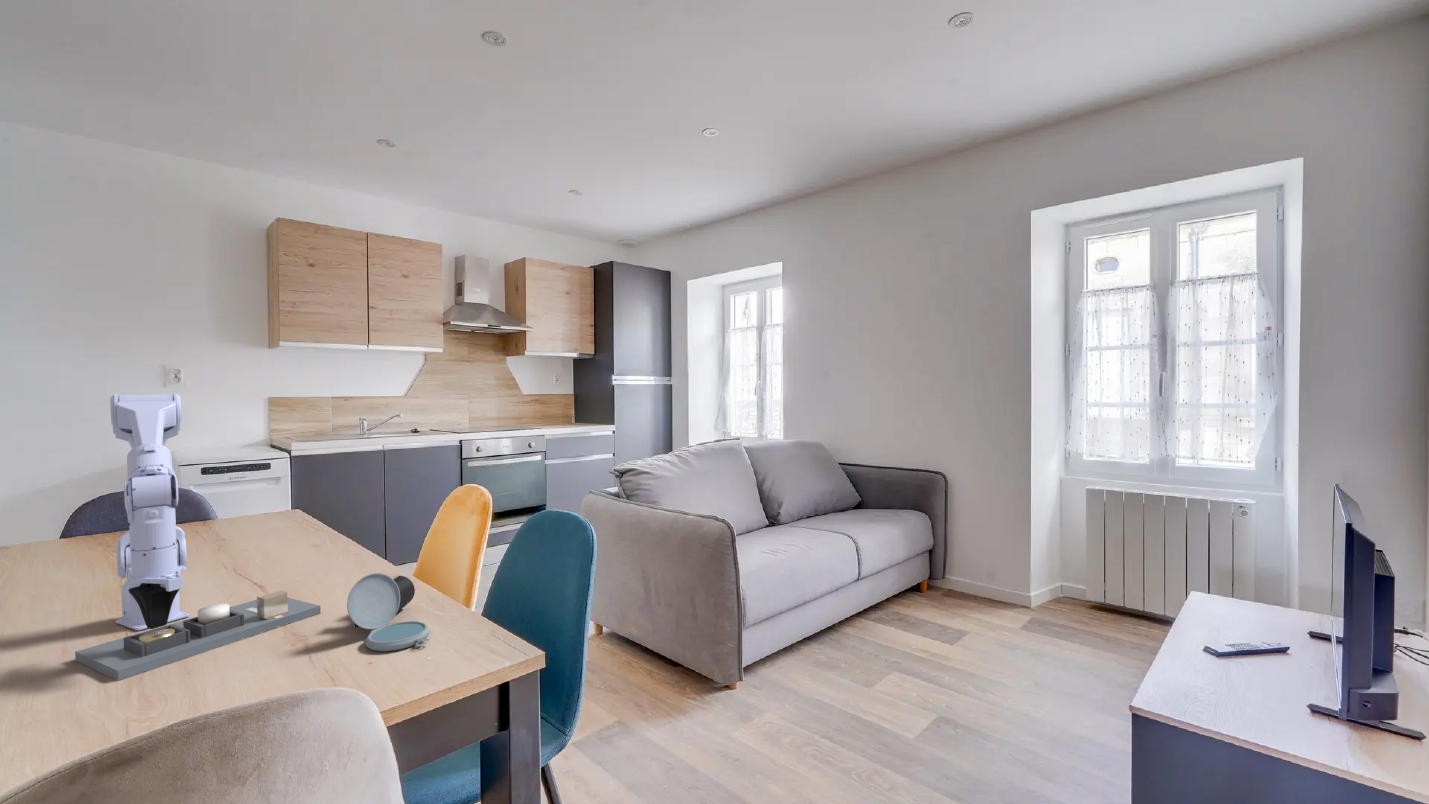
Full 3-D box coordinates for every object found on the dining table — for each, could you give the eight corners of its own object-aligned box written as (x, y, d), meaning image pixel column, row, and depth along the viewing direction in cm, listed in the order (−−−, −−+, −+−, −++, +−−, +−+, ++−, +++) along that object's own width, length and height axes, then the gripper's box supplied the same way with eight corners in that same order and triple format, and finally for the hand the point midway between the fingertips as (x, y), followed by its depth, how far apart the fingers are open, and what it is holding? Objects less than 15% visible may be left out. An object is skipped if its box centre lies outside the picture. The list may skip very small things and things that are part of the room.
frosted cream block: (257, 616, 113) (256, 596, 113) (280, 609, 116) (280, 590, 116) (264, 618, 112) (263, 598, 112) (287, 611, 115) (287, 591, 115)
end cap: (389, 628, 111) (388, 591, 111) (351, 628, 111) (350, 592, 111) (415, 608, 121) (415, 575, 121) (380, 608, 121) (379, 575, 121)
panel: (75, 660, 99) (74, 639, 99) (275, 601, 126) (274, 584, 126) (118, 680, 92) (117, 657, 92) (320, 613, 119) (319, 595, 119)
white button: (193, 621, 107) (192, 610, 107) (222, 613, 111) (221, 602, 111) (205, 625, 105) (205, 614, 105) (234, 616, 109) (234, 605, 109)
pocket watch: (394, 566, 113) (449, 576, 106) (396, 623, 113) (450, 637, 106) (340, 582, 104) (396, 594, 97) (342, 644, 104) (398, 661, 98)
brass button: (134, 648, 100) (134, 636, 100) (167, 638, 104) (167, 627, 104) (146, 653, 98) (146, 641, 98) (180, 642, 102) (179, 631, 102)
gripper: (204, 545, 101) (207, 625, 101) (163, 536, 107) (166, 611, 108) (150, 556, 95) (154, 641, 95) (110, 546, 101) (113, 625, 102)
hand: (156, 626), depth 101 cm, fingers closed
